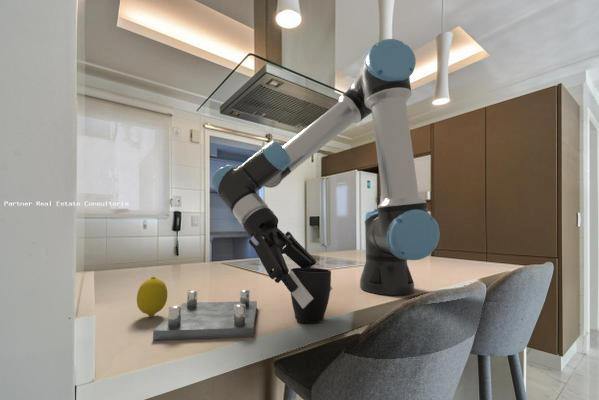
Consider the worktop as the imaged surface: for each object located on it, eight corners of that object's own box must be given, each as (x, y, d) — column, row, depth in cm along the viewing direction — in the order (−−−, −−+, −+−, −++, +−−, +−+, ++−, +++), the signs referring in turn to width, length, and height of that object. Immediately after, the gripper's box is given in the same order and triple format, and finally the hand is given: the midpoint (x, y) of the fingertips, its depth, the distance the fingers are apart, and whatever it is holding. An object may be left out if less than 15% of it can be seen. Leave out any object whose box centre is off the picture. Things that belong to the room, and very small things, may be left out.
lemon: (161, 310, 61) (162, 273, 61) (170, 316, 57) (172, 276, 57) (132, 316, 57) (134, 276, 57) (140, 323, 53) (142, 280, 53)
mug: (309, 308, 64) (310, 265, 66) (338, 322, 53) (339, 272, 55) (275, 310, 61) (278, 265, 62) (299, 327, 50) (301, 272, 51)
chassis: (256, 307, 63) (257, 287, 63) (252, 336, 47) (253, 309, 47) (183, 309, 61) (183, 288, 61) (152, 340, 45) (154, 311, 46)
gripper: (272, 228, 75) (327, 297, 66) (213, 229, 56) (277, 326, 47) (289, 208, 73) (349, 277, 64) (233, 202, 54) (305, 298, 45)
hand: (318, 297), depth 56 cm, fingers closed on mug, 9 cm apart
